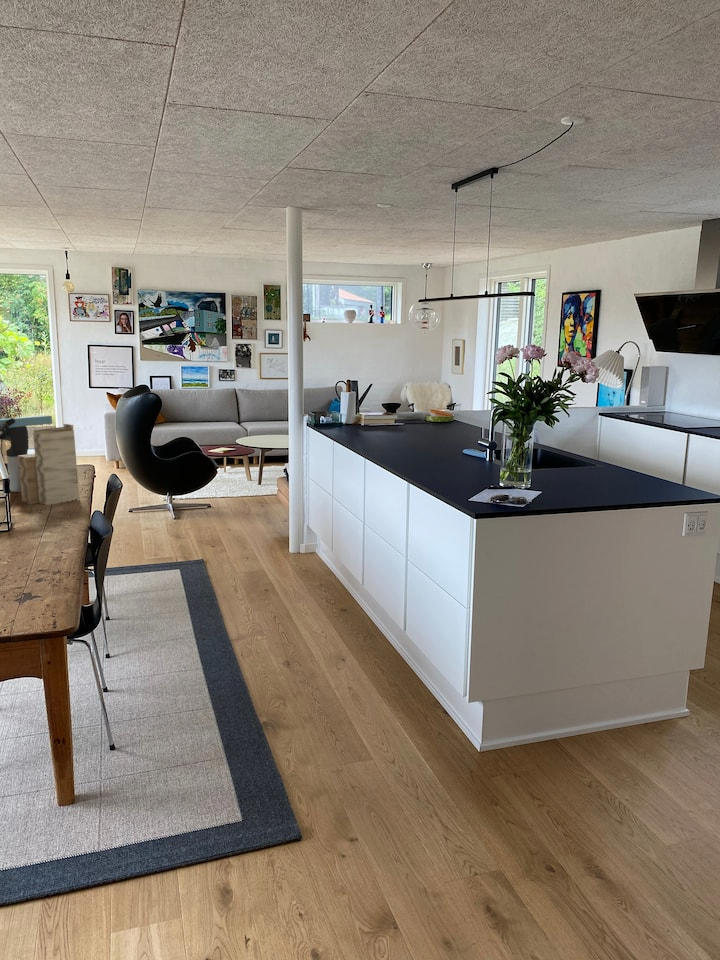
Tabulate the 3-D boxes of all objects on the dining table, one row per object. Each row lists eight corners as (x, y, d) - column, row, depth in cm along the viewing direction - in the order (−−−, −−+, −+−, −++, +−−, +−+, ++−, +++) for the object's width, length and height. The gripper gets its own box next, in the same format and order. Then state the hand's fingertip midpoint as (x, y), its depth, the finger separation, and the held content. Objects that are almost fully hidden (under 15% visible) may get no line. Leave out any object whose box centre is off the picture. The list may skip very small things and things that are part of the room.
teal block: (-3, 427, 312) (-3, 419, 311) (48, 423, 328) (47, 415, 327) (1, 428, 310) (0, 419, 309) (52, 423, 326) (51, 415, 325)
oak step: (22, 500, 335) (17, 455, 331) (51, 495, 345) (47, 451, 341) (30, 503, 330) (25, 457, 326) (60, 498, 340) (56, 453, 336)
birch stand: (39, 502, 332) (32, 426, 325) (70, 496, 343) (64, 423, 336) (47, 505, 327) (40, 428, 320) (79, 499, 338) (73, 425, 331)
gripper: (-22, 437, 298) (14, 413, 307) (-35, 433, 307) (-1, 410, 317) (-11, 451, 302) (24, 427, 311) (-25, 448, 311) (9, 425, 321)
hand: (11, 419), depth 314 cm, fingers closed on teal block, 3 cm apart
